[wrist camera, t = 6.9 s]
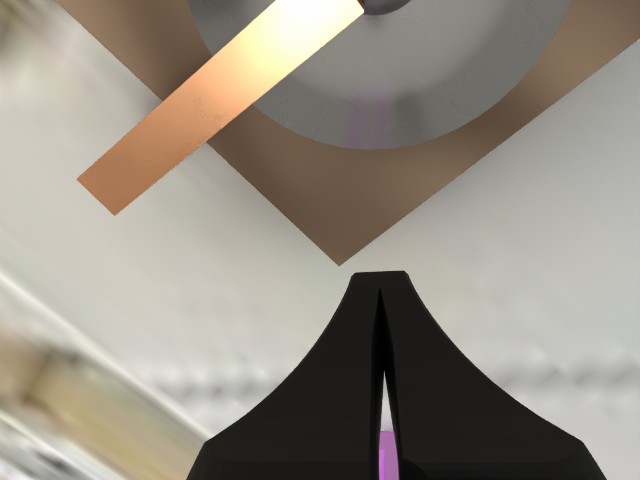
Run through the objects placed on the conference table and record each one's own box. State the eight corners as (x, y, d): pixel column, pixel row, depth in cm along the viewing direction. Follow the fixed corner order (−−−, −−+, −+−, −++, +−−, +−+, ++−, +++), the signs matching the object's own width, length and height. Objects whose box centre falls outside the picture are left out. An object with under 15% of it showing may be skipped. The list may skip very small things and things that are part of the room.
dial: (437, -451, 12) (472, -645, 8) (637, -8, 16) (724, 4, 12) (24, 21, 18) (-70, 39, 14) (247, 255, 22) (223, 319, 18)
